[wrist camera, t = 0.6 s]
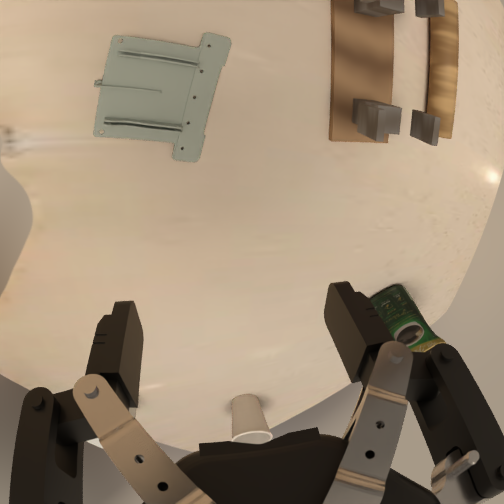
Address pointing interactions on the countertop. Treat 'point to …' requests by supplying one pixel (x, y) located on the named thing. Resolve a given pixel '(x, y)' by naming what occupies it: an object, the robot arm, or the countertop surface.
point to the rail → (444, 67)
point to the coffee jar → (404, 319)
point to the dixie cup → (249, 421)
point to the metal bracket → (160, 91)
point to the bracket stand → (371, 72)
